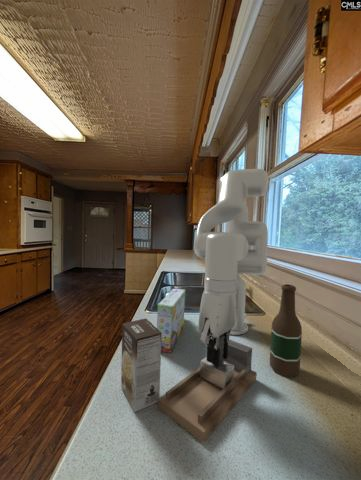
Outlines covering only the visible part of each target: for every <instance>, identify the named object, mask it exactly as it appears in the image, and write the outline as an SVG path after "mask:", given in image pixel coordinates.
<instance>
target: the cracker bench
mask: <svg viewBox="0 0 361 480" xmlns="http://www.w3.org/2000/svg"><path fill="white" fill-rule="evenodd" d="M227 343H228V357H227V359H223V361H225V362H228V363H230V364H232V365H234V377H233V380H232V381H231V382H230V383H229V384H228V385H227V386H226V387H225V388H224V389H222V388H220V387H218V386H217V385H215V384H213V383H211V382H209V381H207V380H206V379H204V378H202V377H200V366H199V367H198V368H197V369H195V370H194V371H193V372H191V373H189V375H187V376H186V377H185V378H183V379H182V380H180V381H179V382H178V383H177V384H175V385H174V386H173V387H171V388H169V389H168V390H167V391H165V393H164V394H162V395H160V396H159V399H158V402H157V409H158V410H159V411H161V412H162V413H163V414H165V416H168V417H169V418H170V419H171V420H172V421H174V422H175V423H176V424H177V425H179V426H180V427H182V428H183V429H184V430H186V431H187V432H188V433H189V434H191V435H192V436H194V437H195V438H196V439H197V440H199V441H200V442H202V443H205V442H206V440H207V439H208V438H209V437H210V436H211V435H212V433H213V432H214V431H215V429H217V427H218V426H219V425H220V424H221V423H222V421H223V420H224V419H225V418H226V417H227V416H228V414H229V413H230V412H231V411H232V409H234V407H235V406H236V405H237V403H238V402H239V401H240V400H241V399H242V398H243V396H244V395H245V394H246V393H247V391H249V389H250V388H251V387H252V386H253V384H254V383H255V382H256V381H257V371H254V370H252V360H253V359H252V358H253V357H252V356H253V347H251V346H248V345H245V344H243V343H240V342H238V341H234V340H232V339H230V338H229V341H228V342H227Z"/></svg>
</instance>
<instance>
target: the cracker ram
mask: <svg viewBox="0 0 361 480" xmlns="http://www.w3.org/2000/svg"><path fill="white" fill-rule="evenodd" d="M211 339H212V340H213V341H214V340H215V338H213V337H211ZM218 348H219V349H220V359H219V365H218V366H216V365H214V364H212V363H210V362H208V361H207V356H205V357H204V358H202V359H201V360H200V362H199V363H200V364H199V365H200V366H199V367H200V377H202V378H204V379H206V380H207V381H209V382H211V383H213V384H215V385H217V386H218V387H220V388H222V389H224V388H225V387H226V386H227V385H228V384H229V383H230V382H231V381H232V380H233V377H234V365H232V364H230V363H228V362H225V361H223V359H224V334H222V335H220V336H219V346H218Z"/></svg>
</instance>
